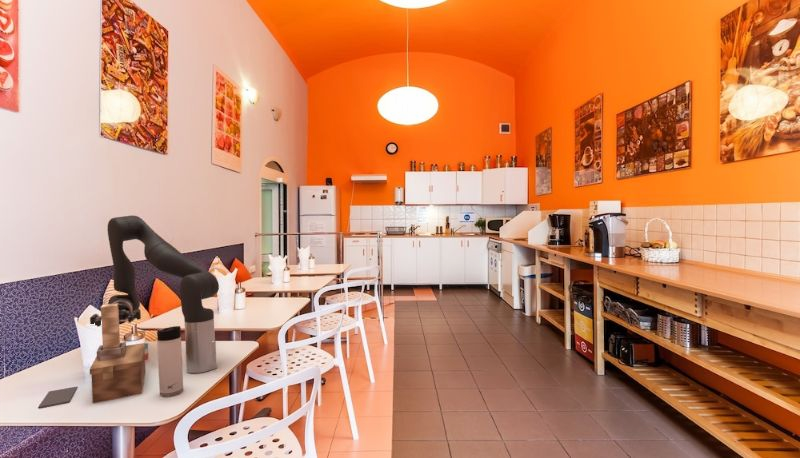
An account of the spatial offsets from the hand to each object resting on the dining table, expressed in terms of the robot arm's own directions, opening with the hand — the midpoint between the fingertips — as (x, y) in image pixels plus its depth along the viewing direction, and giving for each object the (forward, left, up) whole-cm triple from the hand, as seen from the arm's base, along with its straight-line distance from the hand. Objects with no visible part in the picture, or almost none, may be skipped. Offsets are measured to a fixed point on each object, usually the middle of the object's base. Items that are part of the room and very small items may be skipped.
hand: (114, 321), depth 137 cm
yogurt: (-5, -11, -19) cm, 23 cm away
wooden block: (0, +9, -9) cm, 12 cm away
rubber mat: (+14, +9, -19) cm, 25 cm away
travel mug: (-16, +23, -19) cm, 34 cm away
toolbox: (-2, +9, -19) cm, 21 cm away
